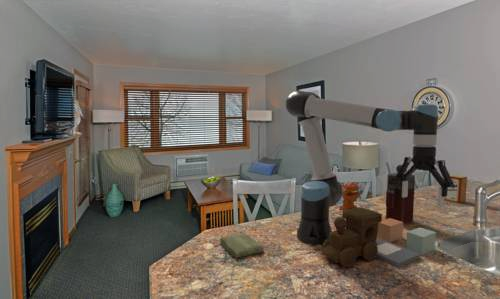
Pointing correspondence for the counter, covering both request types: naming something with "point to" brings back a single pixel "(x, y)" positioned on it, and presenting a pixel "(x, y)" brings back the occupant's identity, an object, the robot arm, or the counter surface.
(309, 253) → the counter surface
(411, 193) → the toy vending machine
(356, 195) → the orange lumpy rounded piece
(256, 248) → the washcloth
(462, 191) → the baking soda box
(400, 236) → the terracotta brick
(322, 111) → the robot arm
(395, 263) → the base plate
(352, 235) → the wooden toy train
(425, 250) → the sage brick
